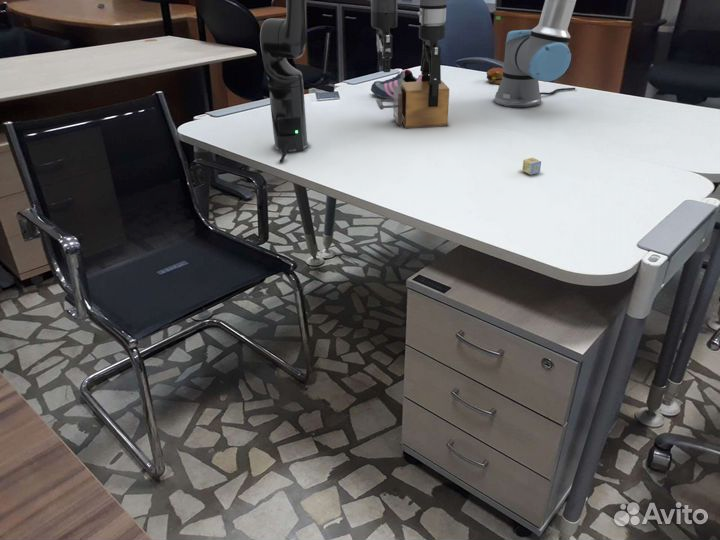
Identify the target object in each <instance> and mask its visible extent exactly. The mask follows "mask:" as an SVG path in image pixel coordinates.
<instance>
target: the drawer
mask: <svg viewBox="0 0 720 540" xmlns="http://www.w3.org/2000/svg"><path fill="white" fill-rule="evenodd" d="M375 101H376V104H377V106H378V108H379V110H382V111H383V110H384V109H392V110H393V111H392V112H393V114H392V116H393V118H394V121H395V122H396V124H397V125H398V126H402V124H403V122H402V117H403V119H404V120H405V122H406V92H405V90H404V89H403V87H402V93H401V91H400V90H399V88H398V87H397V86H393V99H381V98H376V100H375ZM384 103H393V104H392V105H390V104H389V105H384Z"/></svg>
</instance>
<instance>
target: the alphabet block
mask: <svg viewBox="0 0 720 540" xmlns="http://www.w3.org/2000/svg"><path fill="white" fill-rule="evenodd" d="M541 167H542V161H541V160H539V159H537V158H535V157H530V158H529V157H528V158H524V159H523V160H522V172H524V173H526V174H528V175H535V174H536V175H537V174H539V173H541Z"/></svg>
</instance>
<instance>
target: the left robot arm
mask: <svg viewBox="0 0 720 540" xmlns="http://www.w3.org/2000/svg"><path fill="white" fill-rule="evenodd" d="M285 5H286V6H285V8H286V15H285V16H286V17H285V18H272V17H271V18H267V19H266V20H264V21H263V22H262V24H261V27H260V32H259V43H260V51H261V56H262V63H263V70H264V71H263V72H264V74H265V77H266V79H267V83H268V84H267V85H268V93H269V105H270V113H271V114H270V115H271V124H272V133H273V142H274V144H273V146H274V150H276V151H279V152H280V153H281V157H280V159H279V163H281V164H282V163H283V162H284V160H285V158H286V155H287V153H294V152H296V153H297V152H304V150H305V149H307V148H308V147H309V142H308V131H307V118H306V116H307V115H306V104H305V89H304V88H305V87H304V76H303V73H302V71H301V70H299V69H297V68H295V67H294V66H292V64H290V63H289V62H288V60H287V59H294V60H296V59H300V58H302V56H303V55H304V53H305V52H306V48H307V42H308V41H307V40H308V13H307V12H308V10H307V0H285ZM398 5H399V3H398V0H370V26H371V28H372V29H375V30H376V51H377V56H378V57H377V60H378V66H379V67H382V72H383V73H391V69H392V68H391V67H392V66H391V63H392V62H391V61H392V58H393V57H394V54H393V38H394V35H393V34H391V31H390V30H391V29H395V28H397V27H398Z"/></svg>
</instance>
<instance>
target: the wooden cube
mask: <svg viewBox="0 0 720 540" xmlns="http://www.w3.org/2000/svg"><path fill="white" fill-rule="evenodd" d="M428 82H430V81H419V82H401V93H402V87H403V89H404V90H405V92H406V122H405V120H404V119H403V117H402V124H403V126H404V127H405V129H416V128H434V127H448V121H449V103H450V87H448V85H447V84H446V83H445V82H444V81H443V80H441V84H439V91H438V107H428V102H429V85H428Z"/></svg>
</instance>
